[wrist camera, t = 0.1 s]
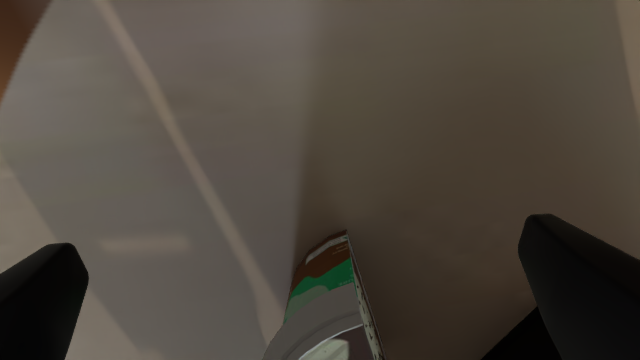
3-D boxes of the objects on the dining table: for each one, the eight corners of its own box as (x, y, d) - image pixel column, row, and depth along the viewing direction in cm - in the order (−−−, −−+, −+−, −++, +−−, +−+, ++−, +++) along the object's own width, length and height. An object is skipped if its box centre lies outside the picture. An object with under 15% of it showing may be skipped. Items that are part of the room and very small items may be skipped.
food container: (244, 236, 25) (205, 354, 16) (339, 208, 25) (359, 312, 15) (305, 384, 29) (303, 550, 20) (388, 362, 29) (428, 521, 19)
